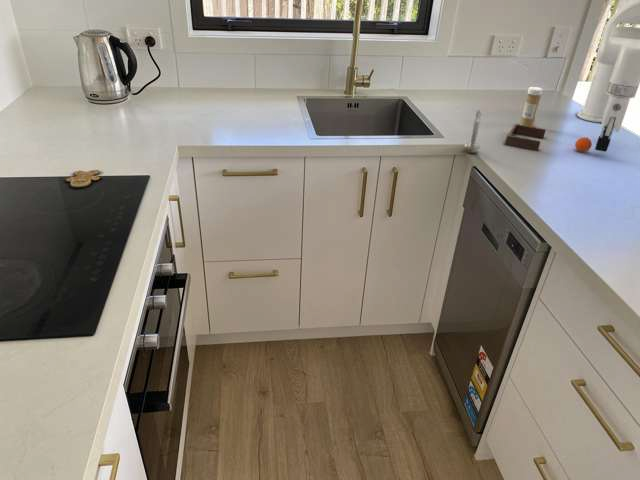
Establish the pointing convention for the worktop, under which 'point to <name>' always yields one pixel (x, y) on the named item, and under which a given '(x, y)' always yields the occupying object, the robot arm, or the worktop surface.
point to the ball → (583, 144)
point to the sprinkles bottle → (531, 106)
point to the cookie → (83, 178)
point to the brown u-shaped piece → (525, 142)
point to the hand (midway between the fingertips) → (600, 149)
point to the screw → (474, 135)
